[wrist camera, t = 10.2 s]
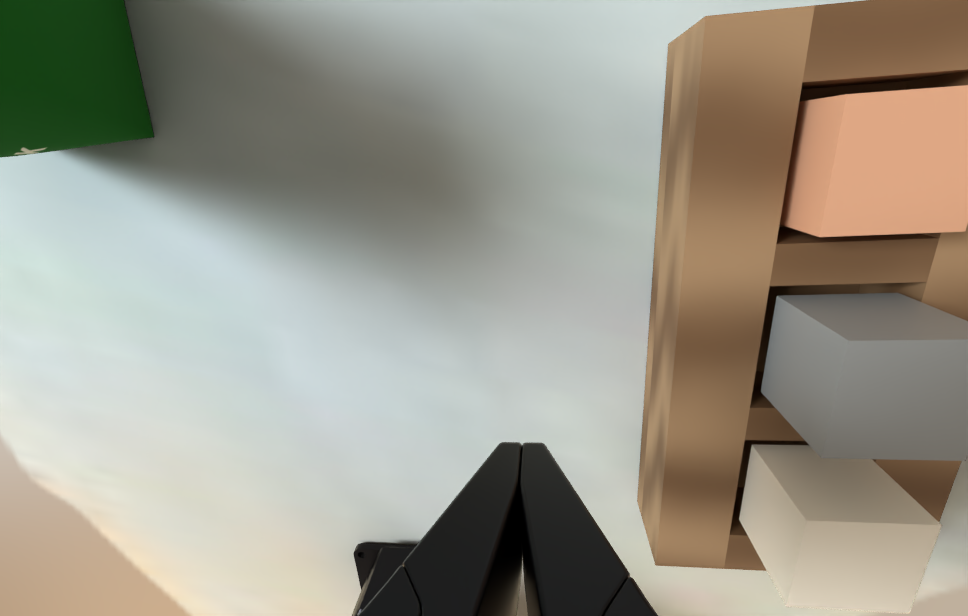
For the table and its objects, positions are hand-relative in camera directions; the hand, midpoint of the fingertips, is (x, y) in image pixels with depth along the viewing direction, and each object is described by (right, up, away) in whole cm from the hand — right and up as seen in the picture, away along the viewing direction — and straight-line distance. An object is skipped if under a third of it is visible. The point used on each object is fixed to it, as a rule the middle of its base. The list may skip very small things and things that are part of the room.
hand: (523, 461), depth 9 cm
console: (+12, +3, +11) cm, 17 cm away
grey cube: (+12, +2, +8) cm, 15 cm away
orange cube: (+12, +8, +8) cm, 17 cm away
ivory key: (+12, -4, +10) cm, 17 cm away
